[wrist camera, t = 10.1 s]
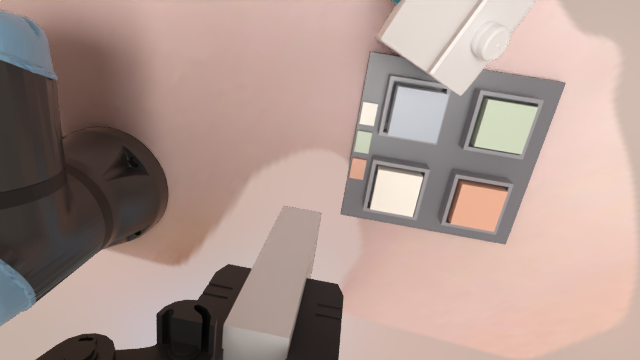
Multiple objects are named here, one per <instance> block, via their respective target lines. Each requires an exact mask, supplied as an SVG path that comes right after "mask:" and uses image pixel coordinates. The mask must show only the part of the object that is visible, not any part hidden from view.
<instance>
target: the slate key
mask: <svg viewBox="0 0 640 360" xmlns="http://www.w3.org/2000/svg"><path fill="white" fill-rule="evenodd" d="M448 97H449V94H447V93H445V92H443V91H437V90H430V89H424V88H418V87H412V86H406V85H400V84H396V88H395V93H394V97H393V102H392V107H391V111H390V116H389V121H388V125H387V134H388V135H389V136H395V137H401V138H407V139H413V140H419V141H425V142H431V143H436V142H437V138H438V134H439V130H440V127H441V123H442V119H443V115H444V112H445V108H446V104H447V100H448Z"/></svg>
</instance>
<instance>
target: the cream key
mask: <svg viewBox="0 0 640 360" xmlns="http://www.w3.org/2000/svg"><path fill="white" fill-rule="evenodd" d="M422 180H423V176H422V174H421V172H419V171H413V170H408V169H402V168H396V167H390V166H385V165H379V164H378V165H377V170H376V174H375V179H374V184H373V188H372V193H371V198H370V209H371V210H376V211H382V212H387V213H393V214H398V215H404V216H409V217H413V214H414V210H415V206H416V203H417V199H418V195H419V191H420V187H421V184H422Z"/></svg>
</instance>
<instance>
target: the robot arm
mask: <svg viewBox="0 0 640 360" xmlns="http://www.w3.org/2000/svg"><path fill="white" fill-rule="evenodd" d="M56 81H58V77H57V75H56V74H55V73H54V68H53V64H52V59H51V53H50V48H49V42H48V38H47V36H46V34H45V32H44V31H43V29H42V28H41V27H40V26H39V25H38V24H37V23H36V22H34V21H33V20H32V19H30V18H28V17H26V16H23V15H20V14H17V13H13V12H9V11H5V10H1V9H0V326H2V325H3V324H4V323H6V322H7V321H9V320H10V319H12V318H13V317H15V316H16V315H17V314H19V313H20V312H22V311H26V310H28V309H29V308H30V307H32V305H34V304H35V303H36V302H37V301H38V300H39V299H41V298H42V297H43V296H44V295H46V294H47V293H48V292H49V291H51V290H52V289H53V288H54V287H55V286H57V285H58V284H59V283H60V282H62V281H63V280H64V279H65V278H67V277H68V276H69V275H70V274H72V273H73V272H74V271H75V270H76V269H78V268H79V267H80V266H82V265H83V264H84V263H85V262H86V261H88V260H89V259H90V258H91V257H93V256H94V255H95V254H96V253H98V252H99V251H100V250H102V249H105V248H108V247H111V246H115V245H118V244H121V243H125V242H128V241H131V240H134V239H136V238H138V237H140V236H142V235H143V234H145V233H146V232H147V231H148V230H150V229H151V228H152V227H153V226H154V225H155V224H156V223H157V222H158V221H159V220H160V219H161V217H162V215H163V213H164V211H165V208H166V205H167V199H168V190H167V183H166V179H165V176H164V173H163V171H162V169H161V167H160V165H159V163H158V161H157V160H156V158H155V157H154V156H153V154H152V153H151V152H150V151H149V150H148V149H147V148H146V147H145V146H144V145H143V144H142V143H141V142H139V141H138V140H137V139H135V138H134V137H132V136H130V135H128V134H126V133H124V132H122V131H119V130H116V129H112V128H107V127H92V128H87V129H83V130H80V131H77V132H74V133H71V134H69V135H67V136H65V137H63V138H62V132H61V123H60V114H59V105H58V96H57V87H56ZM321 214H322V213H320V212H316V211H310V210H305V209H299V208H294V207H288V206H283V208H282V210H281V212H280V214H279V216H278V218H277V220H276V222H275V224H274V226H273V228H272V230H271V232H270V234H269V236H268V238H267V240H266V242H265V244H264V246H263V248H262V250H261V252H260V254H259V256H258V258H257V260H256V262H255V264H254V266H253V268H252V269H251V268H246V267H240V266H235V265H230V264H228V265H226V266H225V267H223V268H222V269H220V270H219V271H217V272H216V273H215V274H214V276H213V277H212V279H211V281H210V282H209V285H207V287H206V288H205V290H204V292H203V294H202V295H201V296H200V297H199V299H198V300H183V301H177V302H174V303H172V304H170V305H168V306H165V307H164V308H163V309H162V310H161V311H159V312H158V313H157V344H156V345H155V346H151V347H146V348H140V349H127V350H115V347H114V343H113V341H112V340H110V339H109V338H108V337H107V336H104V335H100V334H96V333H95V334H82V335H78V336H75V337H72V338H69V339H67V340H65V341H63V342H61V343H59V344H58V345H56V346H55V347H53V348H52V349H50V350H49V351H47V352H46V353H45V354H43V355H42V356H40V357H39V358H38V359H36V360H338V357H339V345H340V332H341V319H342V308H343V294H342V292H341V290H340V288H339V286H338V284H334V283H329V282H324V281H318V280H314V279H310V278H311V273H312V267H313V262H314V256H315V250H316V244H317V238H318V232H319V226H320V219H321Z"/></svg>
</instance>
